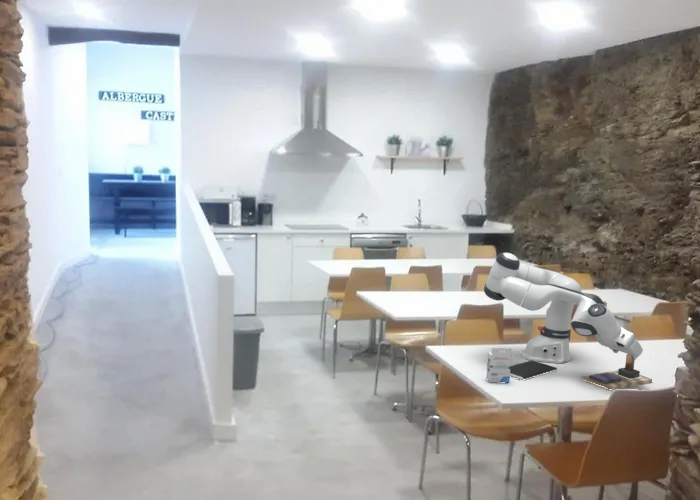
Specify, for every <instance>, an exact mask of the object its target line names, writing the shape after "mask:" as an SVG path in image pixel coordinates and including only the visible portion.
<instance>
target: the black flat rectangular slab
mask: <svg viewBox="0 0 700 500" xmlns="http://www.w3.org/2000/svg"><path fill="white" fill-rule="evenodd" d="M556 369H557V370H558V367H557V366H554V365H550V364H546V363H544V362H543V363H542V362H541V361H533V360H528V361H525V362H521V363H517V364H514V365H511V367H510V376H511V377H515V378H518V379H521V380H523V379H527V378H530V377H533V376H537V375H540V374H543V373H546V372H549V373H551V372H550V371H552V372H554V371H553V370H555V371H557V370H556ZM546 374H547V373H546ZM543 375H544V374H543ZM540 376H541V375H540ZM511 377H510V378H511ZM537 377H538V376H537ZM533 378H534V377H533ZM530 379H531V378H530ZM527 380H528V379H527Z"/></svg>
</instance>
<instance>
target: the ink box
mask: <svg viewBox="0 0 700 500" xmlns="http://www.w3.org/2000/svg"><path fill="white" fill-rule="evenodd" d="M500 351H501V352H500ZM486 364H487V365H486V376H485V378H487V379H488V380H487V379H486V380H487V381H488V383H490V382H509V383H510V378H511V377H510V367H511V366H512V365H511V364H512V348H511V347H509V348H508V347H492V349H491V351H488V352H487V362H486Z"/></svg>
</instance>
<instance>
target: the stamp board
mask: <svg viewBox="0 0 700 500" xmlns="http://www.w3.org/2000/svg"><path fill="white" fill-rule="evenodd" d="M582 379H584V380H586V381H585V382H587V381H589V382H592V383H595V384H598V385H601V386H604V387H606V388H608V389H615V390H617V389H616V388H620V389H625V388H626V389H627V388H629V387H630V388H631V387H635V386H641V385H646V384H652V383H653V379H652V378H651V377H647V376H644V375H641V374H639V377H636V378H630V379H629V378H627V377H624V376H621V375H619V374H618V369H617V370H612V371H605V372H600V373H599V372H598V373H594V374H588V375H582ZM582 379H581V380H582ZM584 380H583V381H584ZM589 382H588V383H589ZM592 383H591V384H592Z"/></svg>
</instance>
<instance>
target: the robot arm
mask: <svg viewBox="0 0 700 500" xmlns="http://www.w3.org/2000/svg"><path fill="white" fill-rule="evenodd" d="M483 292H484V293H485V295H486V297H488V298H489V299H491V300H494V301H499V302H500V301H503V300H505V299H506V300H508V301H510V302H511V303H513V304H515V305H517V306H519V307H521V308H522V309H525V310H527V311H531V312H533V311H534V312H535V311H538V310H541V309H542V308H544V307H545V306H546V305H548V304H549V303H550V305H549V306H548V308H547V309H546V312H545V313H546V314H545V323H544V324H545V325H544V326H541V325H538V326H537V330H538V331H539V334H538V335H536V336H534V337H533V338H531V339H529V340H528V341H527V342H526V346H525V349H522V350H520V354H519V355H520V356H521V357H522V358H524V359H525V360H528V361H531V360H533V361H537V362H540V363H542V362H543V363H551V364H552V363H553V364H563V363H565V362H570V361H571V360H572V358H571V354H570V340H571V334H572V333H571V331H572V330H573V331H574V332H575V334H578V335H579V336H582V337H590V336H595V338H596V339H595V340H597V343H598V344H600V345H601V346H602V347H603V346H604V347H606V348H609V350H611V351H612V353H615V354H618V353H619V352H621V353H624V354H626V355H627V354H630V355H632V356H631V357H632V359H635V360H637V359H638V358H639V357H640V356H641V355H642V353H643V351H644V349H643V346H642V345H641V344H640V342H639V341H638V340H637V339H636V338H635V337H636V336H635V334H634V333H633V332H631V331H629V330H627V329H625V328H624V327H623V326H621V324H620V323H619V322H618V321H617V319H616V317H615V316H614V314H613V313H612V311H611V310H610V309H609V308H608V306H606V305H605V304H604V301H603V300H602V299H601V297H600V296H598V295H597V294H593V293H586V292H582V287H581V285H580V284H579V283H578V281H576V280H575V278H572V277H570V276H568V275H565V274H563V273H561V272H558V271H553V270H550V269H545V268H541V267H538V266H533V265H531V264H527V263H523V262H520V259H519V257H518V256H517V255H515V254H512V253H510V252H507V251H504V252H501V253H500V252H499V254H498V255H497V256H496V258H495V261H494V262H493V264H492V266H491V268H490V271H489V273H488V276H487V280H486V282H485V284H484V288H483ZM575 305H577V307H576V309H575V312H574V315H573V309H574V306H575ZM572 315H573V316H572Z"/></svg>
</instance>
